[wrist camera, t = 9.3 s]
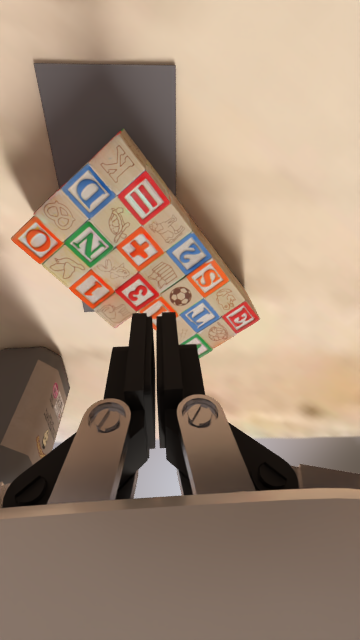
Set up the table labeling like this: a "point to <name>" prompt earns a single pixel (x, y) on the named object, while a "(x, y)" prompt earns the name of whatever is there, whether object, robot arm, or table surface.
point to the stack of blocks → (136, 250)
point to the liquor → (29, 407)
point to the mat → (109, 114)
